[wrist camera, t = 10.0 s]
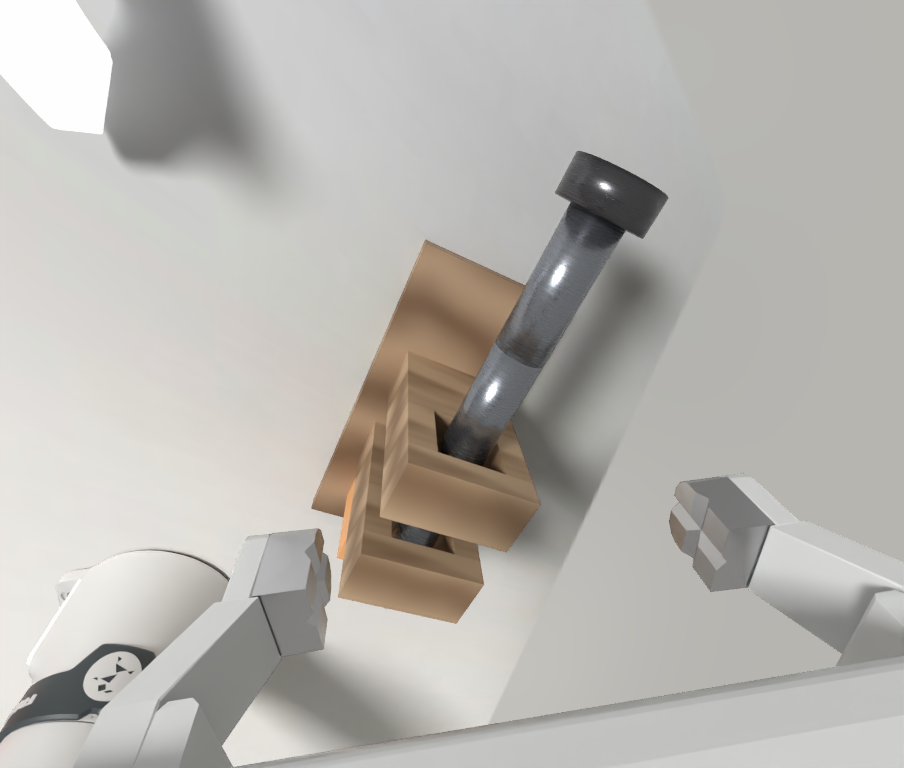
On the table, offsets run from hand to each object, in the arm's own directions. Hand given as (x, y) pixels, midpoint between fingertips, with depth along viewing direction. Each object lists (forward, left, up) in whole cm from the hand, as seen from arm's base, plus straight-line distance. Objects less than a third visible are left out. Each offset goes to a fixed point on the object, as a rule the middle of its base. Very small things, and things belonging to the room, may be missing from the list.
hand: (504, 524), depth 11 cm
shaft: (-4, -5, -18) cm, 19 cm away
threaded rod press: (-13, -5, -27) cm, 30 cm away
